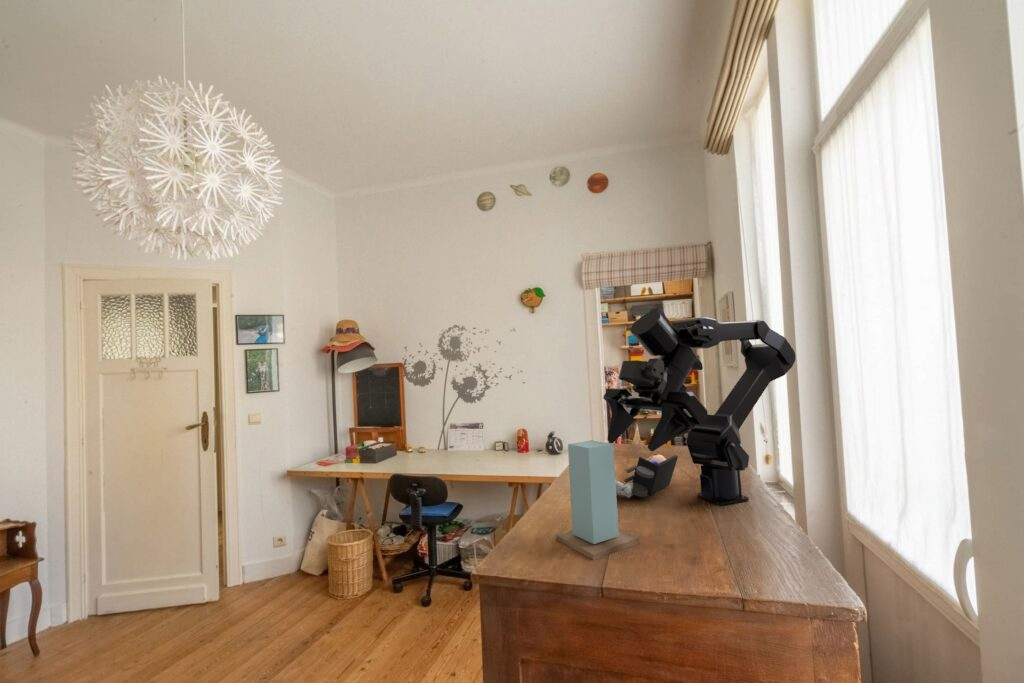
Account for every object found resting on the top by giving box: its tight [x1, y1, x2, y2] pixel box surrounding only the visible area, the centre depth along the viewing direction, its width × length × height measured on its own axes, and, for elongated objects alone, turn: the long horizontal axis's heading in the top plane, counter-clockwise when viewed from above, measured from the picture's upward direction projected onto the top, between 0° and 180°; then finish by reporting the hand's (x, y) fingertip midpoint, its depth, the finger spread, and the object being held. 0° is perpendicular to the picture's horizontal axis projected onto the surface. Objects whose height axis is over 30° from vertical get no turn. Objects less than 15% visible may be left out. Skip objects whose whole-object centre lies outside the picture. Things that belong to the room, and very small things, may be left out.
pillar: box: [567, 440, 620, 544], centre depth 69 cm, size 5×5×14 cm
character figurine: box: [624, 453, 679, 498], centre depth 91 cm, size 8×7×15 cm
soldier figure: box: [616, 480, 634, 499], centre depth 90 cm, size 8×5×12 cm
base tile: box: [555, 528, 640, 561], centre depth 69 cm, size 9×9×2 cm
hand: (628, 445), depth 73 cm, fingers open, 9 cm apart
